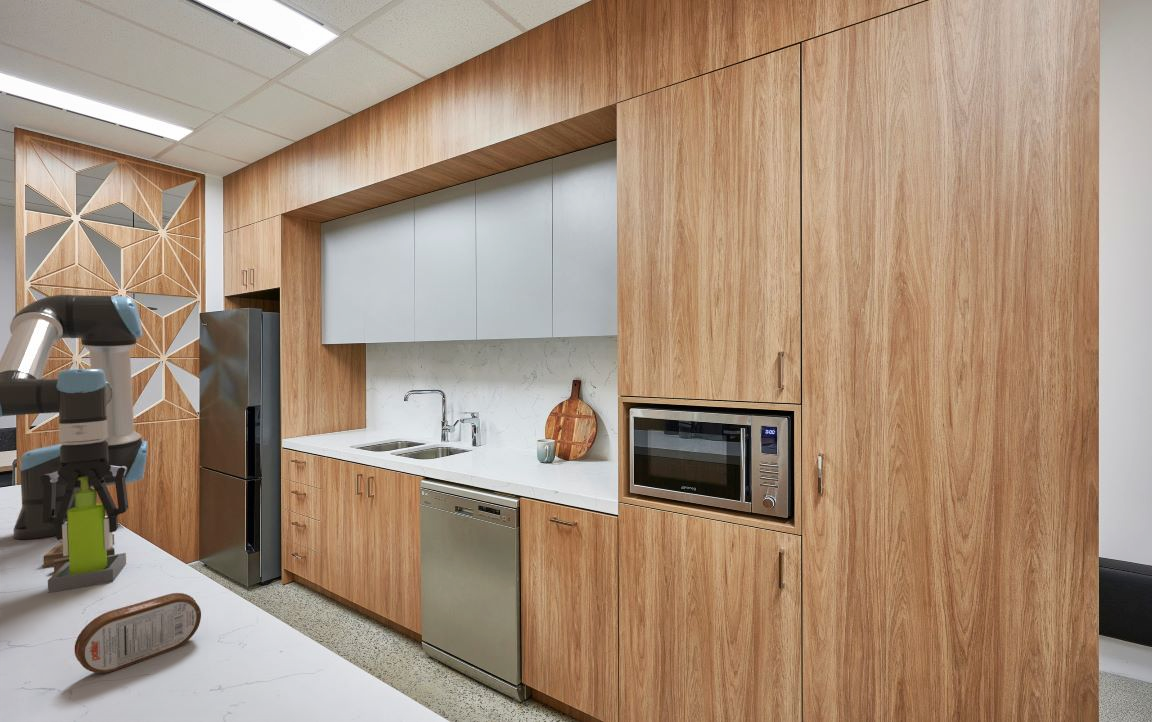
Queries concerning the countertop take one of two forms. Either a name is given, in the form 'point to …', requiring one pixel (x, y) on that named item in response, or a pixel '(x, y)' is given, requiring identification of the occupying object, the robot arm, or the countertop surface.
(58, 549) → the walnut holder
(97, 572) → the keeper frame
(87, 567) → the soap dispenser
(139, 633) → the tin
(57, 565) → the door edge rail
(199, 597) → the countertop surface
